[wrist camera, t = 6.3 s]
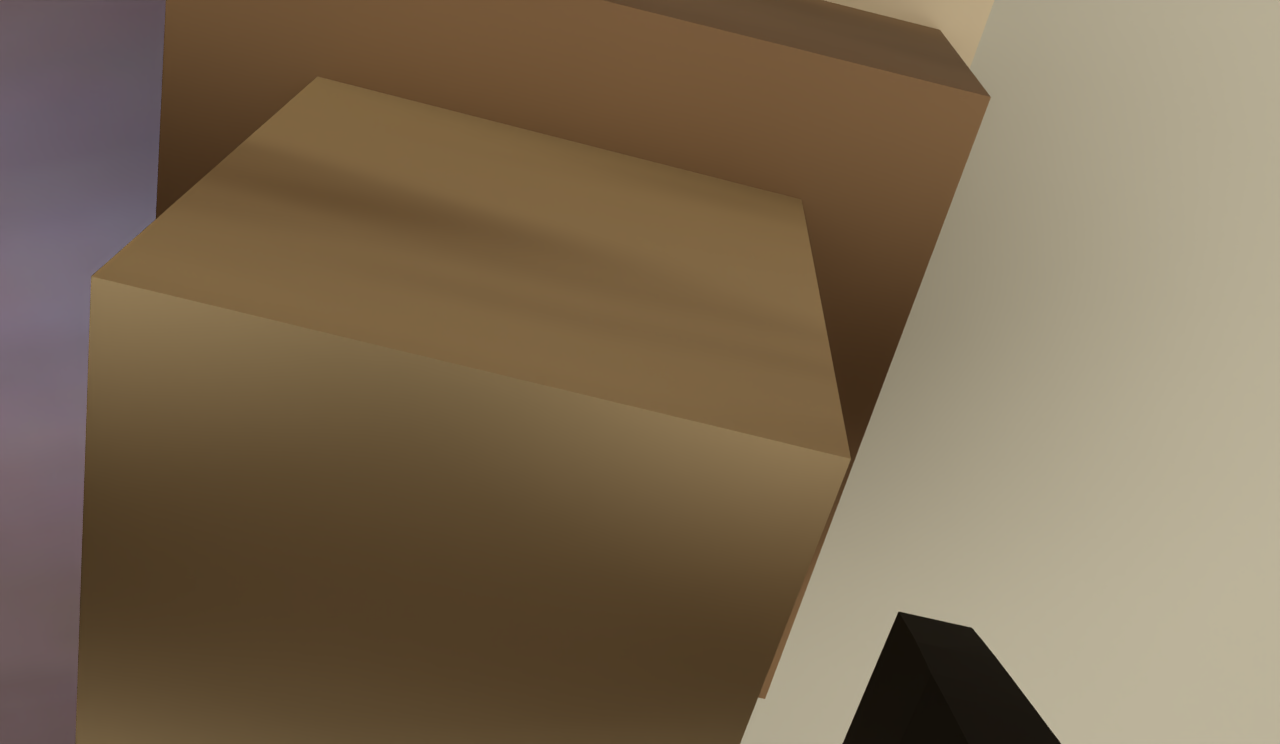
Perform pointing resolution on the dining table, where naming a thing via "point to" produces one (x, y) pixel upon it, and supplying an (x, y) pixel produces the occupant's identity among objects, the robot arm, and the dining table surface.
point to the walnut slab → (639, 117)
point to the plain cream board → (1081, 389)
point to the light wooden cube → (449, 443)
